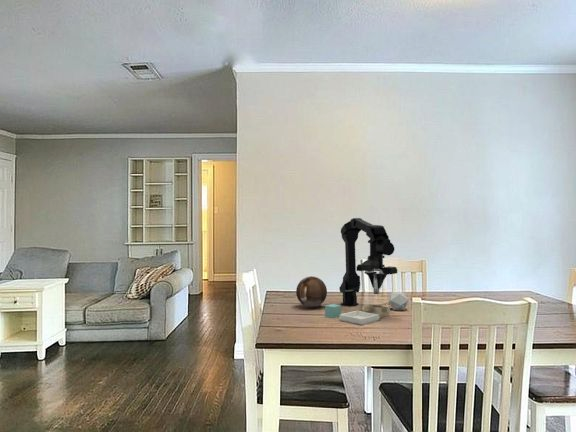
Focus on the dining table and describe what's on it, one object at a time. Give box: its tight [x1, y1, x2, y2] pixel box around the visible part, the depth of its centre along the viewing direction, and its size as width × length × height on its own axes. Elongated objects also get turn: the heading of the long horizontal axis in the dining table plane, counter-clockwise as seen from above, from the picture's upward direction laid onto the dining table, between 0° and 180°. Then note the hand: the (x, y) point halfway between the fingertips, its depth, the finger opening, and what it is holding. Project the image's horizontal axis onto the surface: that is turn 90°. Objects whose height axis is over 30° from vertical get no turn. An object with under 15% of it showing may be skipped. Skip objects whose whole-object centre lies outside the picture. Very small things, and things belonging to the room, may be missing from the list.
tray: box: [338, 310, 380, 326], centre depth 201 cm, size 12×12×2 cm
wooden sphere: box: [295, 276, 328, 308], centre depth 230 cm, size 15×15×15 cm
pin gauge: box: [373, 272, 380, 295], centre depth 211 cm, size 3×3×9 cm
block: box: [324, 303, 342, 319], centre depth 209 cm, size 5×5×5 cm
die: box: [387, 291, 409, 311], centre depth 223 cm, size 8×9×10 cm
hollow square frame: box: [363, 303, 390, 319], centre depth 212 cm, size 8×8×4 cm
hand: (376, 288), depth 212 cm, fingers closed on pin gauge, 3 cm apart
